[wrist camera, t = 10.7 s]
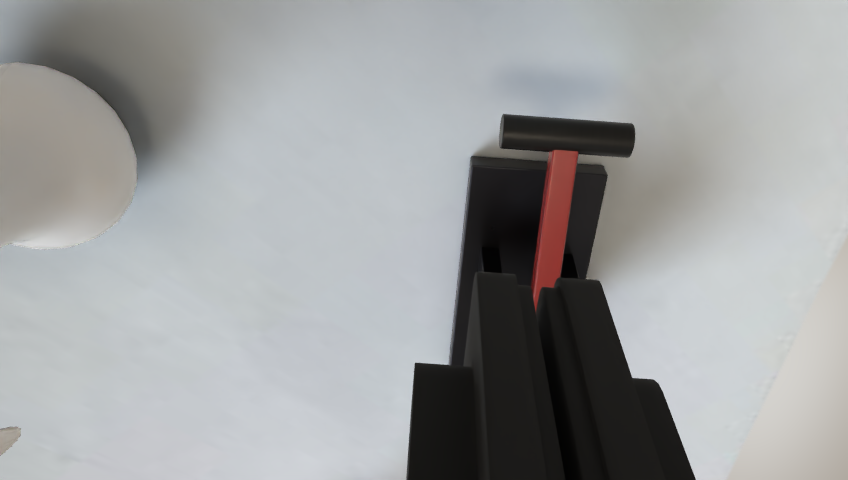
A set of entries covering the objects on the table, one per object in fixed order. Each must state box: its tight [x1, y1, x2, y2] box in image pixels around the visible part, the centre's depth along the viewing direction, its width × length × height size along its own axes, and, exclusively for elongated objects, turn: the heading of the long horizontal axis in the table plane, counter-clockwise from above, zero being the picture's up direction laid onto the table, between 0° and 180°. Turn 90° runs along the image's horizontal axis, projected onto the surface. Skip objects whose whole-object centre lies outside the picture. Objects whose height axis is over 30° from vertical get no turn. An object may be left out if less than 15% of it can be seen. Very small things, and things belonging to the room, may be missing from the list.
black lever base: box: [449, 156, 608, 366], centre depth 37 cm, size 14×7×10 cm, turn 176°
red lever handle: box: [499, 114, 635, 311], centre depth 33 cm, size 13×6×2 cm, turn 176°
